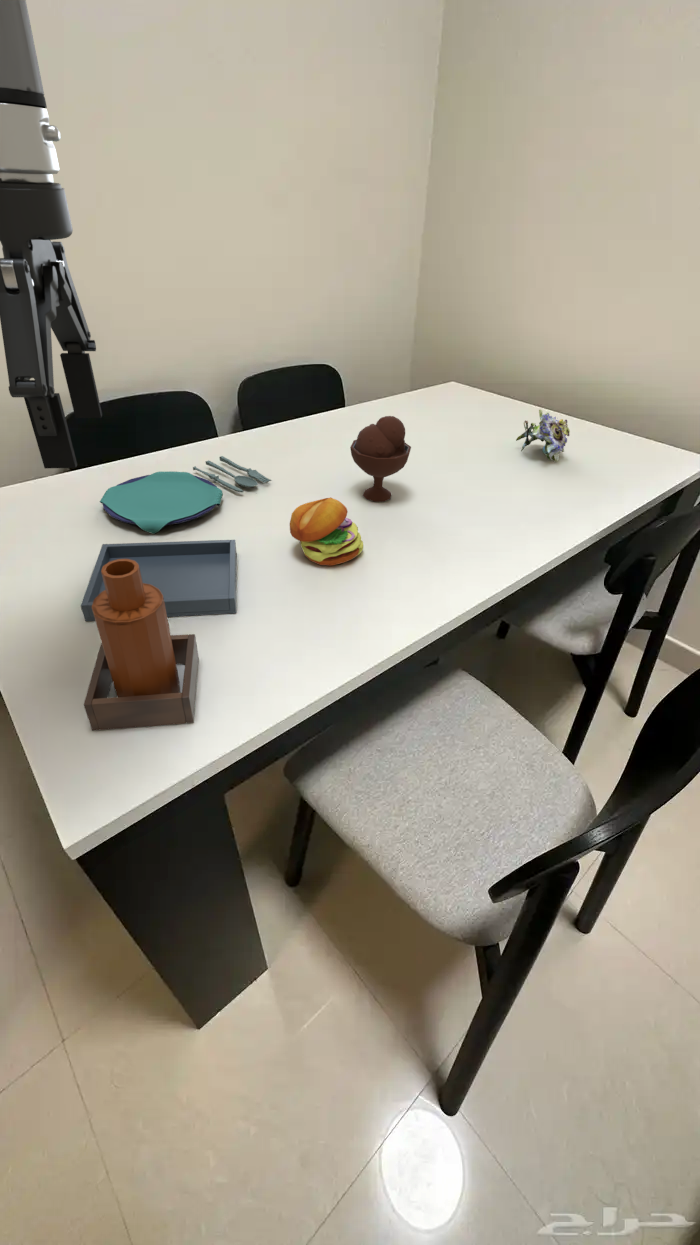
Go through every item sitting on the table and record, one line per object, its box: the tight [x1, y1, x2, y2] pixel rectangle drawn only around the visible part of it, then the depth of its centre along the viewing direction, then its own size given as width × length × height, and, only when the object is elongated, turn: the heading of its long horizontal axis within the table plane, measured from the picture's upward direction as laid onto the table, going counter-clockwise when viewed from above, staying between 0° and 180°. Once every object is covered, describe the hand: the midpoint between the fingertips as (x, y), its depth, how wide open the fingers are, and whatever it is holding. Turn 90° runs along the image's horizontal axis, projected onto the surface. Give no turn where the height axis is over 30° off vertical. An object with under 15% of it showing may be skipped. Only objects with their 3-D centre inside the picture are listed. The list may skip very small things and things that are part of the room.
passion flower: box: [515, 409, 571, 463], centre depth 128 cm, size 11×11×12 cm
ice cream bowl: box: [349, 415, 412, 503], centre depth 105 cm, size 11×11×15 cm
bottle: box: [92, 559, 181, 697], centre depth 62 cm, size 7×7×17 cm
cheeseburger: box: [289, 497, 364, 566], centre depth 90 cm, size 10×11×10 cm
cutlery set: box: [99, 455, 273, 535], centre depth 105 cm, size 20×30×2 cm, turn 139°
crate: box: [83, 633, 200, 731], centre depth 66 cm, size 11×11×4 cm
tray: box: [80, 539, 238, 622], centre depth 83 cm, size 20×16×3 cm
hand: (76, 439), depth 59 cm, fingers open, 13 cm apart
